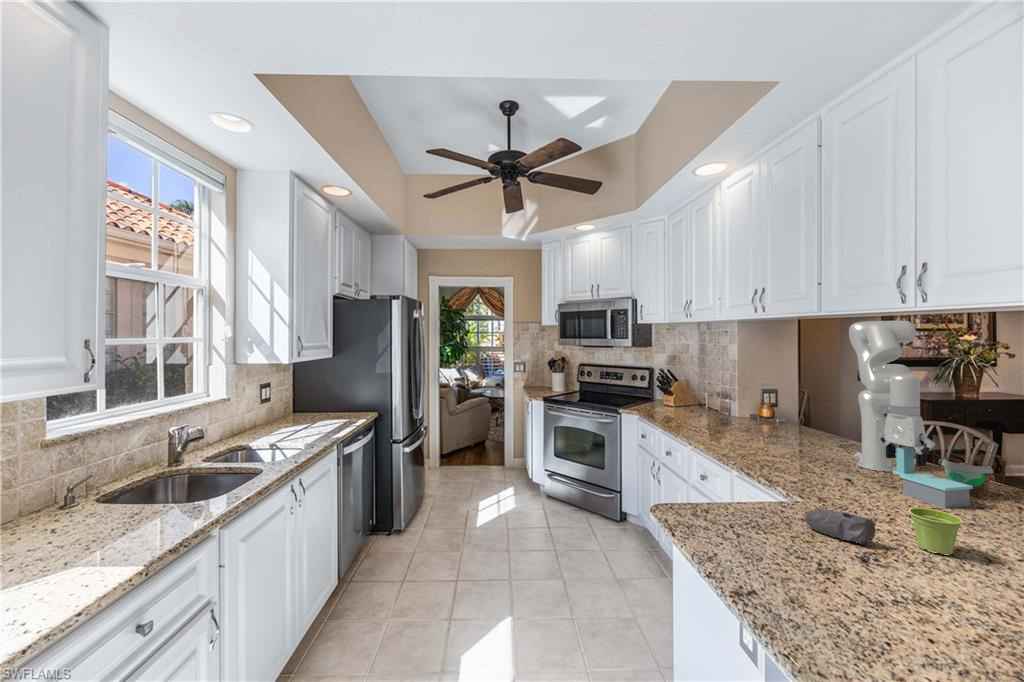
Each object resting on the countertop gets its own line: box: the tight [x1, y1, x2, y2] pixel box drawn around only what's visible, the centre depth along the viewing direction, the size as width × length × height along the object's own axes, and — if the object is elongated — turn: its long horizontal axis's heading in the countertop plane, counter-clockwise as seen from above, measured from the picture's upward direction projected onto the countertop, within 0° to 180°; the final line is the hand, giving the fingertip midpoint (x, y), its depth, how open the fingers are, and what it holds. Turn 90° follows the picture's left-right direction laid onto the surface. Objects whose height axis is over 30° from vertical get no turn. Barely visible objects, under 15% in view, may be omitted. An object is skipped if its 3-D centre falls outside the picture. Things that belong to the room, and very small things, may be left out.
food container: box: [941, 457, 994, 497], centre depth 143 cm, size 12×6×10 cm, turn 25°
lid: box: [892, 446, 973, 491], centre depth 138 cm, size 17×10×9 cm, turn 8°
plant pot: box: [908, 507, 963, 555], centre depth 105 cm, size 9×9×9 cm
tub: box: [902, 478, 971, 509], centre depth 135 cm, size 12×9×6 cm
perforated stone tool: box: [804, 509, 877, 545], centre depth 112 cm, size 15×5×7 cm, turn 36°
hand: (905, 461), depth 144 cm, fingers open, 9 cm apart
